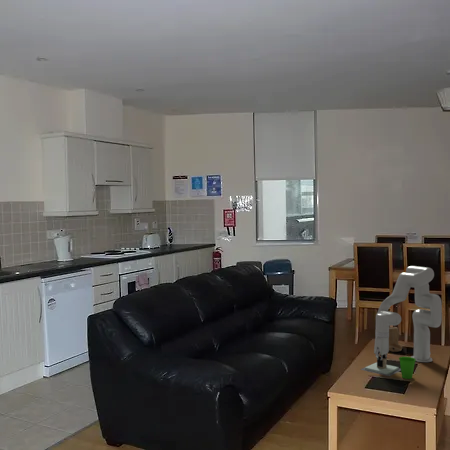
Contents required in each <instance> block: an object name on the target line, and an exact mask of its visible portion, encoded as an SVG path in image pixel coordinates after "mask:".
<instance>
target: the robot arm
mask: <svg viewBox="0 0 450 450" xmlns="http://www.w3.org/2000/svg"><path fill="white" fill-rule="evenodd" d="M434 277H435V272H434V270H433V268H431V267H428V266H426V267H425V266H419V265H418V266H417V265H410V266H407V267H406V269H405V272H401V273H399V275H398V277H397V280H396V282H395V285H394V287H393V291H392V293H391V294H390V295H389V296H387V297H386V298H385V299H383V301H382V302H381V303H380V305H379V307H378V310H377V312H376V314H375V339H374V348H373V354H374V355H375V358H376V363H377V366H378V367H383V360H382V358H385V359H387V358H388V353H389V352H390V350H389V339H388V338H389V327H391V326H398V325H400V324H401V322H402V316H401V315H400V314H399V313H398V312H395V311H394V312H393V311H389V309H390V308H391V306H393V305H395V304H399V303H401V302H404V301H406V300H407V298H408V295H409V292H410V290H411V288H414V304H415V306H417V307H418V308H419V309H415V310H414V311H413V312H412V317H411V318H412V323H413V355H411V356H410V357H411V358H414V359H416V361H415V362H417V363H430V362H433V358H432V357H431V354H432V353H431V331H430V328H439V327H440V326H441V324H442V321H443V309H442V308H443V306H442V305H443V304H442V303H443V302H442V299H441V297H440V296H439V295H438V294H435V293H430V285H429V283H430V282H431V281H432V280H433V279H434ZM421 308H423V309H421ZM427 309H428V310H427ZM429 327H430V328H429Z"/></svg>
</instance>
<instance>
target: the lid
mask: <svg viewBox="0 0 450 450" xmlns="http://www.w3.org/2000/svg"><path fill="white" fill-rule="evenodd" d="M382 360H383V367H378V366H377V362H374V363H372V365H371V364H369V365H367V366H365V367H364V368H365V370H369V371H374V372H378V373H382V374H387V375H388V374H390V373H392V372H394V371H396V370H398V368H399V366H395V365H391V364H387V362H388V361H387V358H386V359H385V358H382Z"/></svg>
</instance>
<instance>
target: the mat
mask: <svg viewBox="0 0 450 450" xmlns="http://www.w3.org/2000/svg"><path fill="white" fill-rule="evenodd" d="M372 364H373V363H372ZM372 364H370V365H372ZM360 371H365V372H370V373H373V374H379V375H382V376H386V377H391V376H393V375H395V374H397V373H400V372H401V367H400V368H399V367H398V370H396V371H394V372H392V373H390V374H388V375H387V374H382V373H378V372H374V371H369V370H365V367H363V368H361V369H360Z"/></svg>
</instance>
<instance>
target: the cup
mask: <svg viewBox="0 0 450 450" xmlns="http://www.w3.org/2000/svg"><path fill="white" fill-rule="evenodd" d="M398 359H399V363H400V364H399V367H400V369H401V371H400V372H401V377H402V378H403V379H405V380H411V379H413V374H414V371H415V370H414V369H415V364H416V362H417V361H416V359H414V358H411V356H400V357H398Z"/></svg>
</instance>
